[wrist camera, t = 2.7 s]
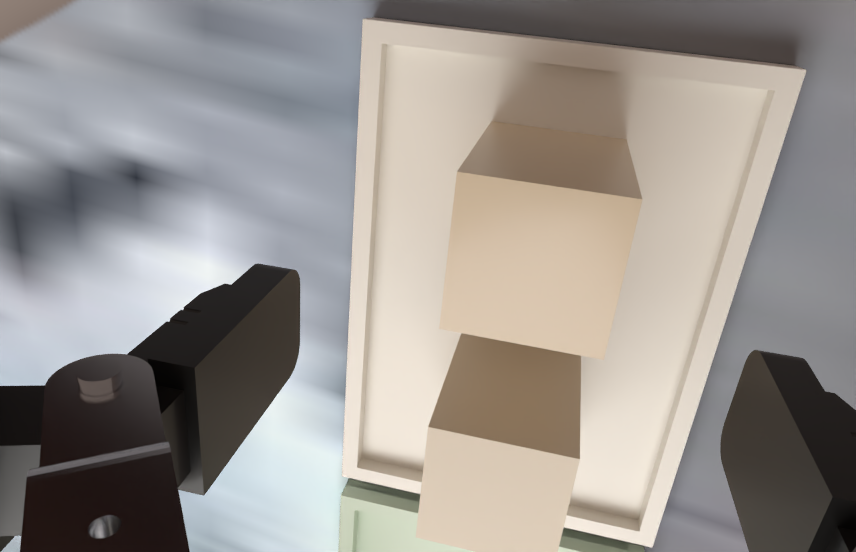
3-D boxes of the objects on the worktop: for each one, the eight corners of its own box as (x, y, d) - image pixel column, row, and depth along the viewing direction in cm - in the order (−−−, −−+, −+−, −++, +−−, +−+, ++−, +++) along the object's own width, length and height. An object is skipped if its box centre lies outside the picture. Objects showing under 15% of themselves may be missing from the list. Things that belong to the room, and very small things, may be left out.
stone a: (626, 139, 19) (642, 199, 14) (599, 263, 21) (603, 360, 16) (491, 121, 20) (457, 171, 14) (475, 243, 22) (438, 328, 16)
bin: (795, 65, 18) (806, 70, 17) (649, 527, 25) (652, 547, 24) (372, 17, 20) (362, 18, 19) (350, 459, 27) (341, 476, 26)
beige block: (581, 344, 22) (579, 459, 17) (560, 438, 24) (552, 570, 19) (465, 322, 23) (428, 426, 17) (452, 416, 25) (415, 537, 19)
